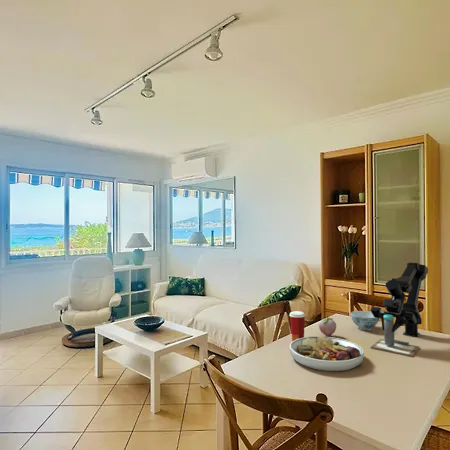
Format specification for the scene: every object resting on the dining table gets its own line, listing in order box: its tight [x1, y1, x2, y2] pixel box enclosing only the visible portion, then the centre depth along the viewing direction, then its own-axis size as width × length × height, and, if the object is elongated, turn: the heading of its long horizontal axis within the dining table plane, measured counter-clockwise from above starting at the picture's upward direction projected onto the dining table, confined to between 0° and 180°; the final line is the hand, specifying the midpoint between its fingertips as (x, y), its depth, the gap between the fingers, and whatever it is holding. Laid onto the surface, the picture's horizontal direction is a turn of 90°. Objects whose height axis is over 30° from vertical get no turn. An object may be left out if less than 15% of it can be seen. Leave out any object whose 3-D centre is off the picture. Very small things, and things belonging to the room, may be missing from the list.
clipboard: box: [370, 338, 421, 358], centre depth 150 cm, size 14×17×2 cm
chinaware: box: [349, 310, 380, 331], centre depth 181 cm, size 15×15×8 cm
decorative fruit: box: [318, 316, 337, 337], centre depth 168 cm, size 9×8×10 cm
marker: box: [383, 315, 395, 346], centre depth 150 cm, size 4×4×13 cm
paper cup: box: [289, 310, 306, 342], centre depth 162 cm, size 8×8×14 cm
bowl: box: [289, 335, 365, 372], centre depth 139 cm, size 30×30×8 cm
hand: (387, 330), depth 149 cm, fingers closed on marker, 4 cm apart
